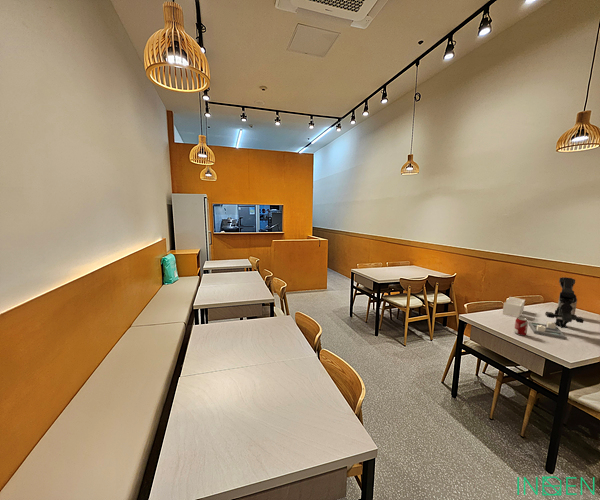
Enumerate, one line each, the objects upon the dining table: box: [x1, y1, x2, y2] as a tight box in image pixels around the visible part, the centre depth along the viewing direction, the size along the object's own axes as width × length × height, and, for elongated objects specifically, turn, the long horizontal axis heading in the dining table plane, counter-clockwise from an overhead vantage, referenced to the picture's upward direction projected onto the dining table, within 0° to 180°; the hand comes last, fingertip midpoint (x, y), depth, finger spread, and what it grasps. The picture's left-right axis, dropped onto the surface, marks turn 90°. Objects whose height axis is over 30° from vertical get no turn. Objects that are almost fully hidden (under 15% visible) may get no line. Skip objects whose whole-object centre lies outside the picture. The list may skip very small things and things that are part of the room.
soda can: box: [513, 316, 529, 336], centre depth 177 cm, size 7×7×12 cm
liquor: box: [556, 284, 578, 315], centre depth 210 cm, size 9×9×30 cm
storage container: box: [502, 296, 526, 319], centre depth 217 cm, size 25×11×11 cm, turn 131°
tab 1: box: [536, 325, 546, 332], centre depth 179 cm, size 3×4×5 cm
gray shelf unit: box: [528, 321, 566, 340], centre depth 182 cm, size 19×16×2 cm
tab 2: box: [546, 321, 557, 329], centre depth 185 cm, size 3×4×5 cm
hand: (561, 327), depth 182 cm, fingers closed
